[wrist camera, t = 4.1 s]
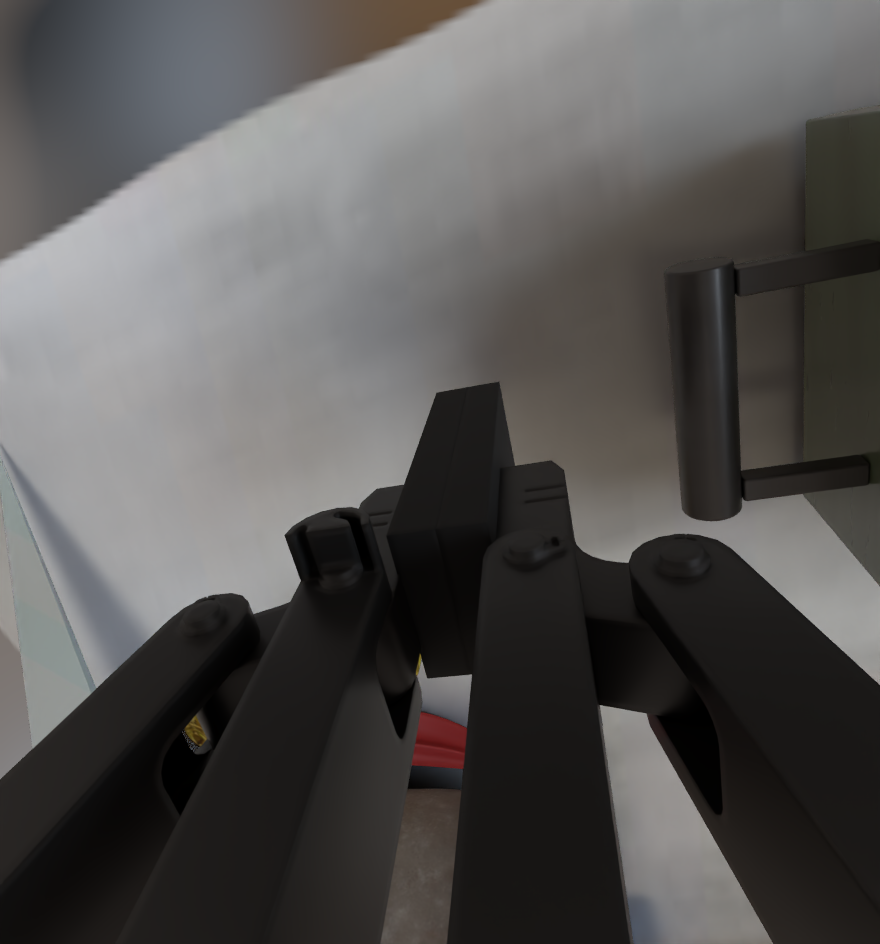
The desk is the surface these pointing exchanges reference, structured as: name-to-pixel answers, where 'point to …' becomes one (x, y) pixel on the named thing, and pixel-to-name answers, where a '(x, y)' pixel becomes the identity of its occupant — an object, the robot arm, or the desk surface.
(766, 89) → the desk surface
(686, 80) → the desk surface
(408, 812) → the grey stone
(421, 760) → the chili pepper
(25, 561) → the dagger
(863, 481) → the drawer
